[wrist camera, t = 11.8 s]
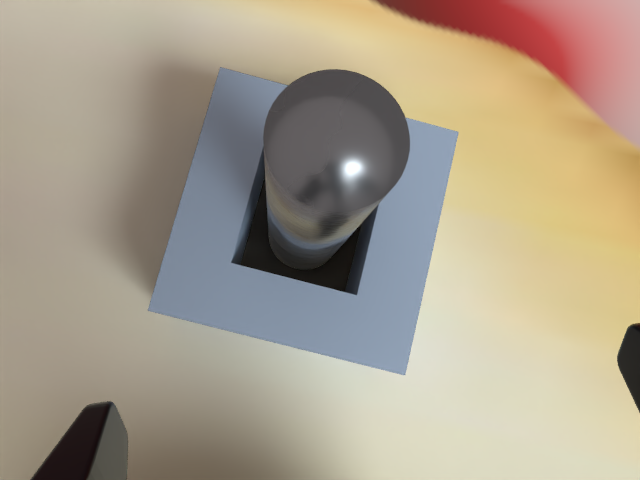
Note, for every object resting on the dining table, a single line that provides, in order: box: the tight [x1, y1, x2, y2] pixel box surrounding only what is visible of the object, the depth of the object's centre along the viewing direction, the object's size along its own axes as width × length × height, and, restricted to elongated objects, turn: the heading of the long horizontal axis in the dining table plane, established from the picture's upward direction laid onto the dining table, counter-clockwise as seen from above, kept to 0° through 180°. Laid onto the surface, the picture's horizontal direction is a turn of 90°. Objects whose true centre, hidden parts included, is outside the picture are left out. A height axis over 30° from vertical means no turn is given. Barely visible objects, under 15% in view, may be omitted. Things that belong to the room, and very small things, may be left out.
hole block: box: [148, 67, 458, 375], centre depth 22 cm, size 9×9×4 cm
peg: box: [263, 69, 410, 270], centre depth 18 cm, size 3×3×12 cm
